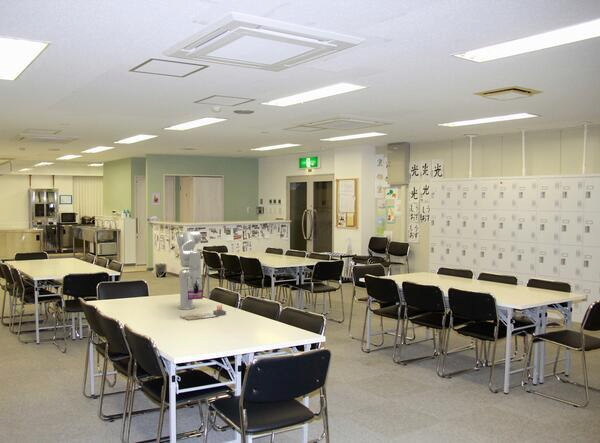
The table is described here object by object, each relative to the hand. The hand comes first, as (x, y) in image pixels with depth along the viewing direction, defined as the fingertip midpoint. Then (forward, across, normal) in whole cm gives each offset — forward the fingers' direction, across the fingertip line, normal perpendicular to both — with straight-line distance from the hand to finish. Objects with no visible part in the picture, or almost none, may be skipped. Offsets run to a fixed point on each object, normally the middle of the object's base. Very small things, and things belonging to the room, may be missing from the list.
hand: (194, 292), depth 407 cm
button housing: (+19, 0, +20) cm, 27 cm away
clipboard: (+19, 0, +4) cm, 19 cm away
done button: (+17, 0, +20) cm, 26 cm away
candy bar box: (+5, 0, 0) cm, 5 cm away
